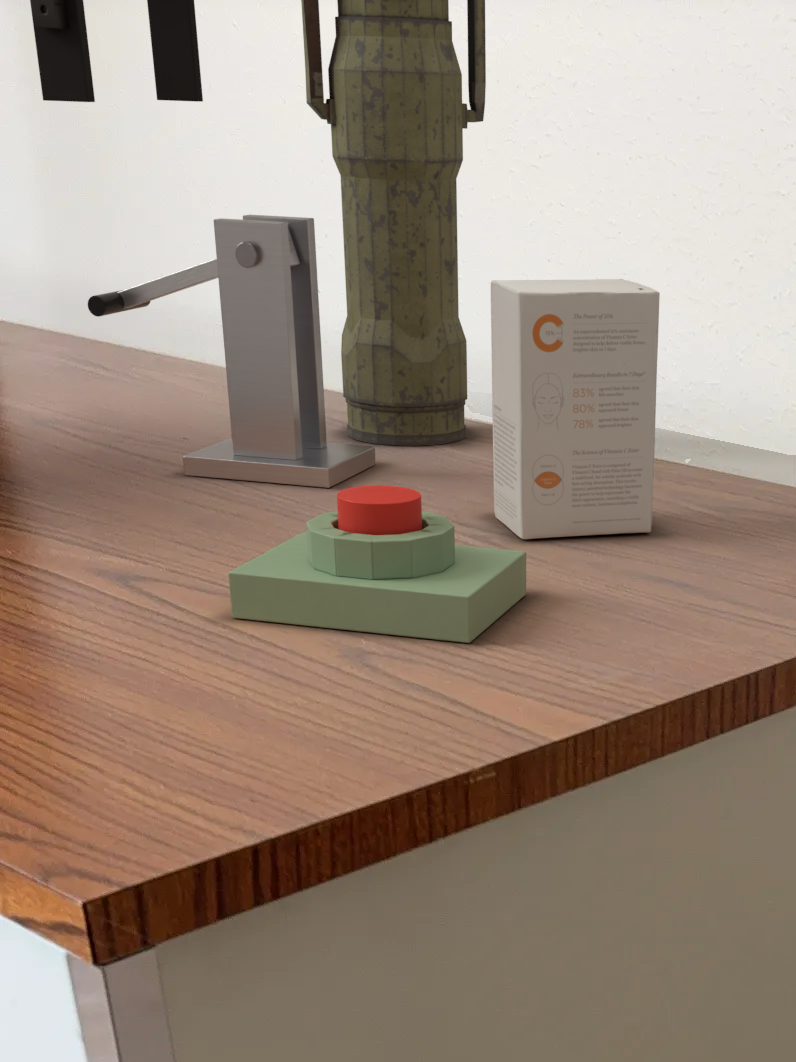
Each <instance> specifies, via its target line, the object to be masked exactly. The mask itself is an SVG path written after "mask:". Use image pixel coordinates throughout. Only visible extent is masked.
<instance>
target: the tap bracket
mask: <svg viewBox="0 0 796 1062" xmlns="http://www.w3.org/2000/svg"><path fill="white" fill-rule="evenodd" d="M288 229H289V232H290V235H291V238H292V241H293V244H294V247H295V250H296V253H297V256H298V259H299V262H300V264H299V265H296V266H293V267H290V255H289V239H288ZM213 230H214V243H215V244H214V245H215V254H216V258H217V267H218V278H217V280H218V287H219V288H218V290H219V301H220V303H219V304H220V312H221V313H220V314H221V325H222V337H223V349H224V359H225V371H226V385H227V396H228V406H229V420H230V432H231V437H228V438H226V439H224V440H221V441H218V442H215V443H213V444H210V445H208V446H205V447H202V448H200V449H197V450H196V451H195V450H194V451H193V452H190V453H187V454H186V455H183V456H182V461H183V471H184V476H190V477H201V478H212V479H213V478H214V479H224V480H236V481H247V482H258V483H271V484H280V485H281V484H282V485H291V486H292V485H293V486H303V487H312V488H313V487H315V488H326V489H329V488H331V487H334V486H336V485H338V484H339V483H342V482H343V481H346V480H348V479H350V478H352V477H353V476H355V475H357V474H359V473H361V472H364V471H366V470H367V469H369V468H371V467H374V466H376V464H377V463H376V446H375V445H365V444H355V443H354V444H353V443H343V442H331V441H330V442H328V441H327V439H328V438H327V423H326V422H327V421H326V408H325V405H326V404H325V390H324V388H325V387H324V371H323V370H324V369H323V354H322V337H321V335H322V334H321V319H320V318H321V317H320V316H321V315H320V301H319V284H318V283H319V282H318V281H319V280H318V266H317V250H316V249H317V246H316V231H315V218H314V217H300V216H299V217H298V216H282V215H264V214H263V215H261V214H245V215H242V219H238V218H237V219H236V218H222V217H221V218H213Z"/></svg>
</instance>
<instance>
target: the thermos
mask: <svg viewBox="0 0 796 1062" xmlns="http://www.w3.org/2000/svg"><path fill="white" fill-rule="evenodd" d="M336 2H337V16H335V17H334V24H335V25H334V27H335V38H334V42H333V46H332V51H331V56H330V60H329V64H328V68H327V74H328V75H327V76H328V93H329V98H326V99H325V97H324V94H325V93H324V79H323V76H324V75H323V60H322V42H321V41H322V38H321V23H320V3H319V0H300V3H301V17H302V18H301V20H302V35H303V36H302V37H303V51H304V52H303V54H304V55H303V56H304V70H305V91H306V92H305V95H306V97H305V98H306V99H305V100H306V104H307V105H308V106H309V108H310V109H312V111H313V112H314V113H315V114H316V115H317V116H318V118H320V120H325V121H326V123H327V125H330V134H331V155H332V159H333V161H334V163H335V166H336V168H337V170H338V173H339V174H340V191H341V192H340V193H341V213H342V214H341V215H342V216H341V217H342V234H343V257H344V259H343V260H344V277H345V279H344V280H345V298H346V299H345V300H346V317H345V322H344V325H343V328H342V329H343V330H342V333H341V346H340V347H341V348H340V349H341V350H340V352H341V353H340V356H341V358H340V359H341V375H342V376H341V377H342V395H343V397H344V399H345V403H346V408H347V409H346V410H347V411H346V413H347V425H346V432H347V433H346V434H347V436H348V437H350V439H353V440H356V441H359V442H362V443H363V442H364V443H370V444H375V445H387V446H410V447H413V446H415V447H417V446H435V445H443V444H450V443H454V442H455V443H456V442H459V441H461V440H463V439H465V438H466V435H467V431H466V428H467V427H466V426H467V425H466V424H465V405H466V401H467V400H468V350H467V348H468V347H467V346H468V345H467V338H466V335H465V332H464V329H463V326H462V323H461V321H460V317H459V315H460V314H459V263H458V262H459V259H458V258H459V257H458V256H459V255H458V254H459V252H458V200H457V199H458V196H457V195H458V194H457V190H458V189H457V178H458V175H459V173H460V170H461V167H462V164H463V161H464V142H463V141H464V137H463V135H464V134H463V129H465V130H466V129H468V123H480V122H484V119H485V108H486V89H487V88H486V87H487V84H486V83H487V77H486V76H487V75H486V74H487V73H486V72H487V70H486V69H487V68H486V67H487V66H486V64H487V63H486V59H487V57H486V55H487V54H486V53H487V52H486V0H466V2H467V4H466V6H467V7H466V8H467V9H466V11H467V12H466V13H467V15H466V16H467V84H468V86H467V87H468V103H469V108H470V109H468V103H463V74H462V70H461V66H460V63H459V60H458V57H457V53H456V49H455V45H454V42H453V21H452V20H450V16H449V14H450V13H449V0H337V1H336Z"/></svg>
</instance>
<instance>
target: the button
mask: <svg viewBox="0 0 796 1062" xmlns="http://www.w3.org/2000/svg"><path fill="white" fill-rule="evenodd" d="M336 505H337V506H336V507H337V511H338V527H339V530H342V531H346V532H349V533H357V534H368V535H397V534H404V533H409V532H415V531H420V530H422V511H423V508H422V506H423V505H422V494H421V492H419V491H418V490H416V489H412V488H409V487H403V486H397V485H361V486H354V487H349V488H344V489H342V490H340V491H338V492H337V494H336Z"/></svg>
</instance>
